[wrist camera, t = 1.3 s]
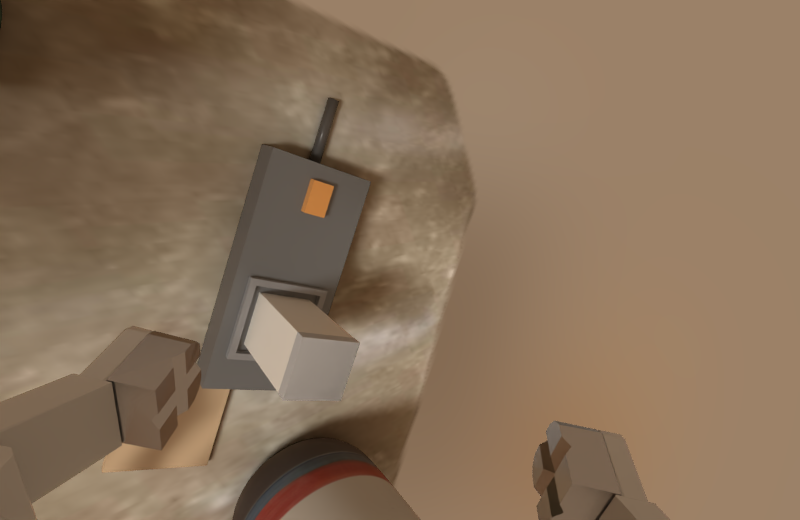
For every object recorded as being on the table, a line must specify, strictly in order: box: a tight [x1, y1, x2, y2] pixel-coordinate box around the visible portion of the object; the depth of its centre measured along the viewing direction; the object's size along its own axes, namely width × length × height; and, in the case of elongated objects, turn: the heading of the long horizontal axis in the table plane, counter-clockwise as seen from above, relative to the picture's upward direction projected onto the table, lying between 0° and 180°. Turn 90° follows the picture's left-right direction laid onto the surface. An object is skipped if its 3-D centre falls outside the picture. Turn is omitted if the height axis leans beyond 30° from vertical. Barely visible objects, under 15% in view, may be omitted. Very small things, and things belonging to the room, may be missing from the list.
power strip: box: [197, 98, 371, 390], centre depth 44 cm, size 10×28×4 cm, turn 157°
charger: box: [244, 292, 360, 401], centre depth 40 cm, size 5×5×10 cm
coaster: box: [102, 385, 230, 473], centre depth 44 cm, size 9×9×1 cm
